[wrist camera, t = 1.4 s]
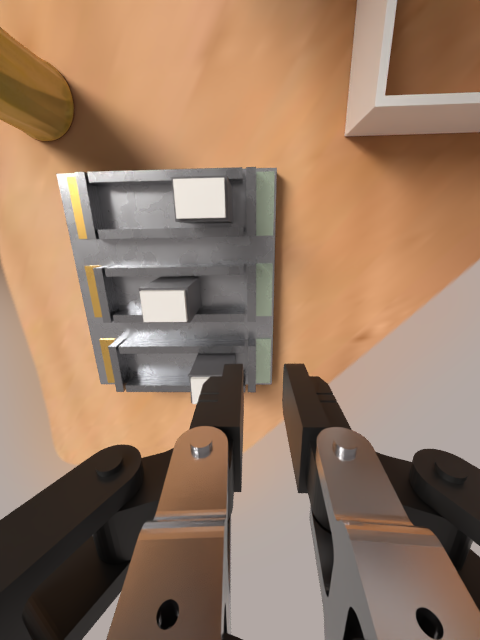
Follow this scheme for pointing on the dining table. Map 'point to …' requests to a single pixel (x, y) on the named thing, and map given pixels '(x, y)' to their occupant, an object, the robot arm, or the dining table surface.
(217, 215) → the breaker near
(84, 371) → the dining table surface
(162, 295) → the block
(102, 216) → the panel
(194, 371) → the breaker far
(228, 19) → the dining table surface
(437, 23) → the dining table surface
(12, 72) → the vase
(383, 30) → the frame
